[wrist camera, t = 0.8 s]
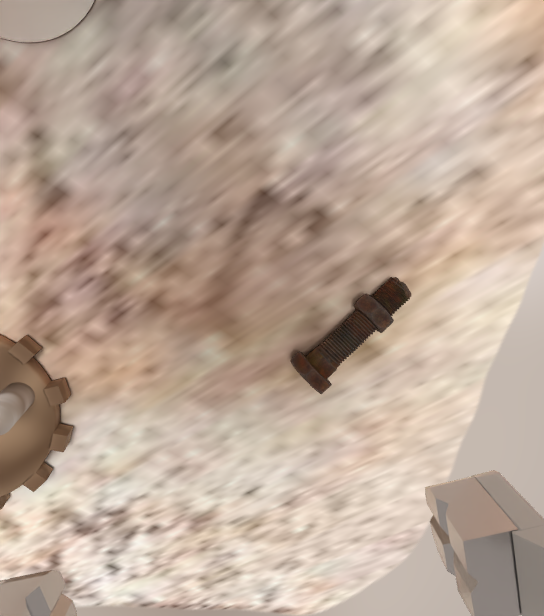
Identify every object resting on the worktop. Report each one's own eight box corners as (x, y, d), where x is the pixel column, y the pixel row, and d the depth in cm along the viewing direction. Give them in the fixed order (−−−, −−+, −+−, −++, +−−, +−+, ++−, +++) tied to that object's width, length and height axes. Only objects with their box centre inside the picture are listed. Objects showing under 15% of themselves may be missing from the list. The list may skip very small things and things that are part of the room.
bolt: (391, 284, 50) (302, 369, 50) (378, 260, 46) (282, 352, 47) (427, 310, 46) (329, 402, 46) (416, 287, 42) (310, 387, 43)
